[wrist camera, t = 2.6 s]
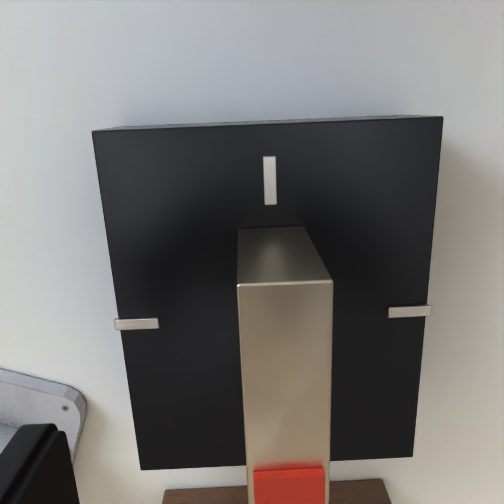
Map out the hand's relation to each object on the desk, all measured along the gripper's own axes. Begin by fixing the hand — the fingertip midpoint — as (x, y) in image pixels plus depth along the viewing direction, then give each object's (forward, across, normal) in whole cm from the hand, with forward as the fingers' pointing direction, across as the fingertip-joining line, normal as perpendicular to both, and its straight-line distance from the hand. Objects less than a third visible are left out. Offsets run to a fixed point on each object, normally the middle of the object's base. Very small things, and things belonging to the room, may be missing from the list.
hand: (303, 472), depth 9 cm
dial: (+6, 0, -1) cm, 6 cm away
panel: (+9, 0, -1) cm, 9 cm away
